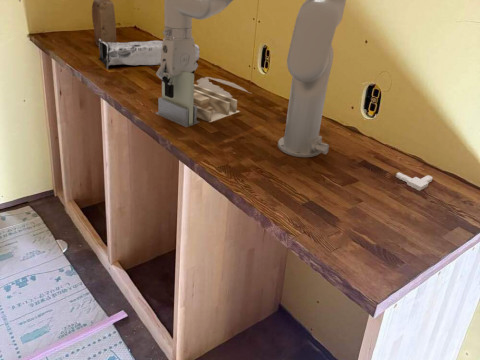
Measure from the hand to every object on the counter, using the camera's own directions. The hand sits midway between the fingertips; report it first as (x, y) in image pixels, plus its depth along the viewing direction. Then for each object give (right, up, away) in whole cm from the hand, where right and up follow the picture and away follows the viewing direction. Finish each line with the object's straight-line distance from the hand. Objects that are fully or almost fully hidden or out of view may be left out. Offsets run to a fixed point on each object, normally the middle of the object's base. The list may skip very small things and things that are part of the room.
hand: (177, 93), depth 142 cm
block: (-42, +34, +73) cm, 91 cm away
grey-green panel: (-1, -7, +4) cm, 8 cm away
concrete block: (-19, +23, +58) cm, 65 cm away
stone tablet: (+13, +5, +31) cm, 34 cm away
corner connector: (+64, -26, -17) cm, 71 cm away
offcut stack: (+5, -3, +10) cm, 12 cm away
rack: (+6, -3, +13) cm, 15 cm away
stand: (-1, -8, +4) cm, 9 cm away
